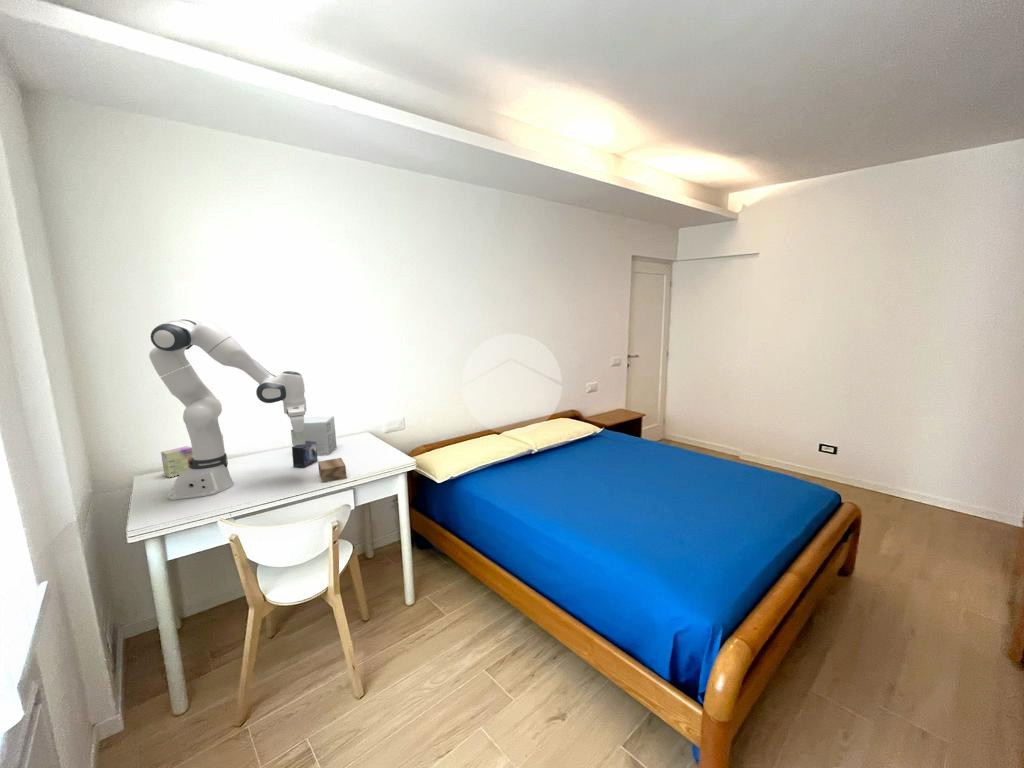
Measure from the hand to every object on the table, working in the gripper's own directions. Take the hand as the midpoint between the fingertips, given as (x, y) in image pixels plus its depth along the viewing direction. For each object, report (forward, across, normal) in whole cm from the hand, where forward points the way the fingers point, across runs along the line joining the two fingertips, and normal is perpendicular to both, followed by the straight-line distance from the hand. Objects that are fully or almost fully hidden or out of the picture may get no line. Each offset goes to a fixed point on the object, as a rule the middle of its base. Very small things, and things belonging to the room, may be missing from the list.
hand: (298, 438), depth 188 cm
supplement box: (+19, -38, +10) cm, 44 cm away
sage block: (+2, 0, 0) cm, 2 cm away
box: (+19, -38, -49) cm, 65 cm away
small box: (+19, -20, +3) cm, 28 cm away
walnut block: (+19, +3, +12) cm, 23 cm away
